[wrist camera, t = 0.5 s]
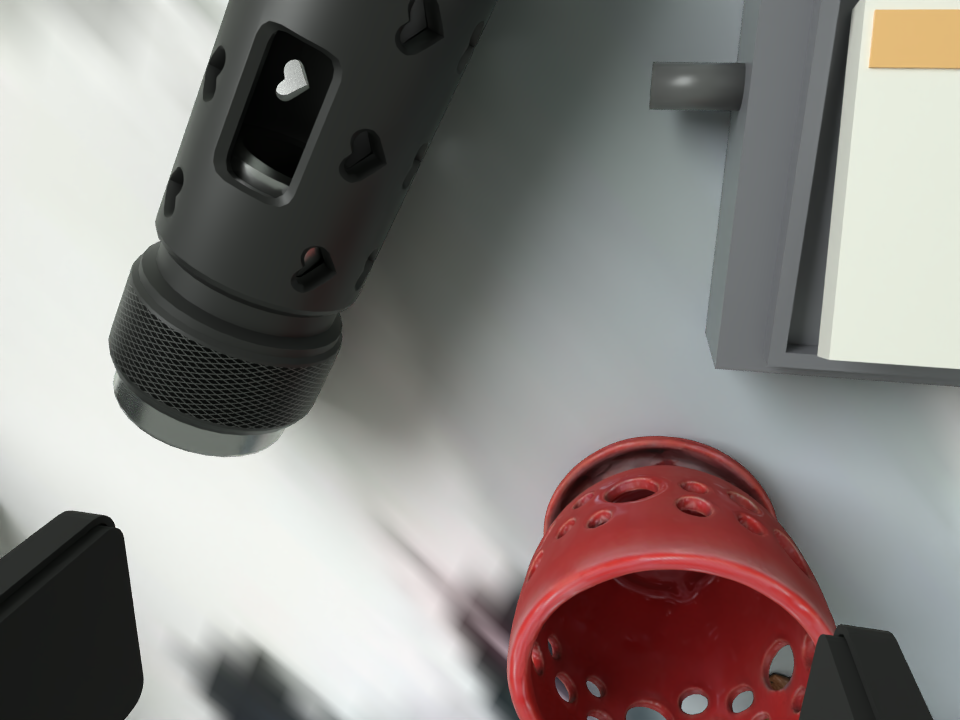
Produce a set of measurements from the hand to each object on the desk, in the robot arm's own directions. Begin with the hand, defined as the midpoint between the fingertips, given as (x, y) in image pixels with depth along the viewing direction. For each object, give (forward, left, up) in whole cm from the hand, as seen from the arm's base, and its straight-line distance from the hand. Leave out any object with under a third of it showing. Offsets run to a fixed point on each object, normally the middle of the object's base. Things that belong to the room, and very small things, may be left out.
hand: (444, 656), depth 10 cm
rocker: (-4, +12, -21) cm, 24 cm away
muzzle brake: (-5, -11, -29) cm, 31 cm away
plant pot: (+15, +5, -29) cm, 33 cm away
